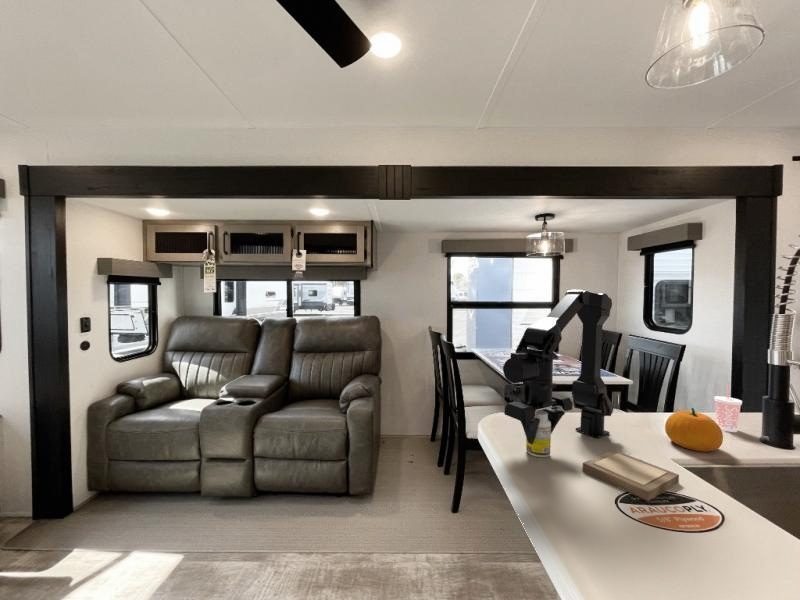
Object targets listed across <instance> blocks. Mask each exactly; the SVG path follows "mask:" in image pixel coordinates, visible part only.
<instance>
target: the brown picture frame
mask: <svg viewBox="0 0 800 600" xmlns="http://www.w3.org/2000/svg"><path fill="white" fill-rule="evenodd" d="M582 472H585V473H587V474H588V475H591V476H593V477H595V478H597V479H600V480H601V481H604V482H606V483H608V484H610V485H613V486H614V487H617V488H618V489H620V490H623V491H625V492H628V493H630V494H632V495H633V496H636V497H638V498H640V499H642V500H645V501H646V502H649V501H651V500H654V498H656V497H658V496H659V495H661V494H663V493H665V492H666V491H668V490H670V489H671V488H673V487H675V486H677V485H678V484H679V483H680V481H679V480H680V475H679V473H675V472H673V471H670V470H668V469H665V468H662V467H660V466H657V465H655V464H652V463H649V462H646V461H644V460H642V459H639V458H636V457H633V456H631V455H628V454H625V453H623V452H621V451H617V450H615V449H613V450H611V451H609V452H606V453H604V454H601V455H599V456H596V457H593V458H592V459H589V460H586V461H584V462H582ZM674 485H675V486H674ZM657 495H658V496H657Z"/></svg>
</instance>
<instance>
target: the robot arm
mask: <svg viewBox="0 0 800 600" xmlns="http://www.w3.org/2000/svg"><path fill="white" fill-rule="evenodd" d="M612 307H613V299H612V298H611V297H609V296H608V294H607V293H599V292H597V293H595V292H590V291H588V290H585V289H569V290H567V291H566V292H565V295H564V297H563V298H562V299H561V300H560V301H559V302H558V303H557V304H556V305H555V307H554V308H553V309H552V310H551V311H550V312H549V313H548V314H547V316H545V317H544V318H543V319H540V320H538V321H535V322H533V323H532V324H531V325H529V326H527V328H526V329H525V331H524V333H523V335H522V337H521V339H520V341H519V342H518V343H519V344H518V345H517V347H516V349H515V352H511V353H510V358H508V359H507V360H505V362H504V364H503V366H502V372H503V375H504V377H505V379H506V381H508V382H510V384H504V389H503V390H504V396H505V397H506V398H509V401H511V402H506V404H505V405H504V406H503V407H504V408H503V409H504V410H503V411H504V413H503V414H504V415H505V416H508V417H509V418H512V419H514V420H517V421H519V422H520V423H521V425H522V428H523V431H524V434H525V437H526V438H527V441H528V443H530V444H533V442H534V439H535V436H536V432H537V429H538V425H539V422H540V419H538V418H536V411H539V410H542V411H545V412H547V413H548V420H549V421H550V422H551V434H553V432H554V430H555V429H556V427H557V425H558V424H559V422H560V420H561V419H562V418H563V416H564V415H565V414H566V412H567V411H573V409H574V408H575V409H578V410H580V426H579V427H575V431H576V430H578V431H577V432H579V431H581V432H580V433H582V432H583V434H585V433H586V434H585V435H587V434H589V435H588V436H590V435H591V437H593V436H594V438H595V437H596V439H599V438H601V437H604V436H607V434H608V435H609V434H610V431H609V430H605V417H612V414H613V413H614V405H613V403H612V401H611V399H610V398H609V396H608V391H607V385H606V384H605V382H604V380H603V379H602V376H601V372H602V370H601V368H602V347H603V346H602V344H603V342H602V341H603V328H604V327H603V326H604V324H605V322H606V321H607V320H608V319H609V317H610V314H611V309H612ZM576 315H577V317H578V318H579V320H580V322H581V324H582V336H581V337H582V338H581V339H582V340H581V355H580V356H581V358H580V360H581V361H580V374H579V376H578V377H577V379H576V380H573V381H572V383H571V384H572V391H571V397H572V399H571V398H570V397H568V396H565V395H562V394H557V393H553V389H556V388H557V383H555V382H554V381H553V379H554V377H553V375H554V374H553V373H554V372H553V371H554V360H558V357H559V356H558V355H557V353H555V352H554V351H555V350H556V349H557V348H558V347H559V345H560V343H561V341H562V339H563V338H562V337H563V336H562V332H563V331H564V329H565V328H566V327H567V325H568V324H569V323H570V322H571V321H572V319H573V318H574V317H575V316H576ZM520 383H522V385H519V386H515V384H520ZM514 400H516V401H514ZM518 400H520V401H518ZM526 403H527V404H526ZM573 407H574V408H573ZM561 409H562V410H561ZM526 438H525V439H526Z"/></svg>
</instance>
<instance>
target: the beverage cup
mask: <svg viewBox="0 0 800 600" xmlns="http://www.w3.org/2000/svg"><path fill="white" fill-rule="evenodd" d="M713 400H714V403H715V419H716V420H715V422H716V423H717V424H718V426H719V427H720V428H721V430H722V431H725V432H729V433H730V432H731V433H737V432H738V431H739V430H738V429H739V423H740V413H741V407H742V405H743V400H741V399H739V398H734V397H730V382H728V381H727V383H726V396H724V395H723V396H720V395H719V396H717V395H715V396H713Z"/></svg>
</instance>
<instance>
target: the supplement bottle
mask: <svg viewBox="0 0 800 600" xmlns="http://www.w3.org/2000/svg"><path fill="white" fill-rule="evenodd" d="M536 418H538V419H540V422H539V425H538V429H537V432H536V436H535V439H534V442H533V444H530V443H528V441H527V438H525V439H526V440H525V443H526V445H525V446H526V447H525V449H526V452H527V453H528V454H529V455H531V456H533V457H536V458H548V457H549V456H550V455H551V441H552V440H551V439H552V437H551V436H552V433H551V422H550V421H549V420H548V413H547V412H545V411H542V410H539V411H536Z"/></svg>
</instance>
